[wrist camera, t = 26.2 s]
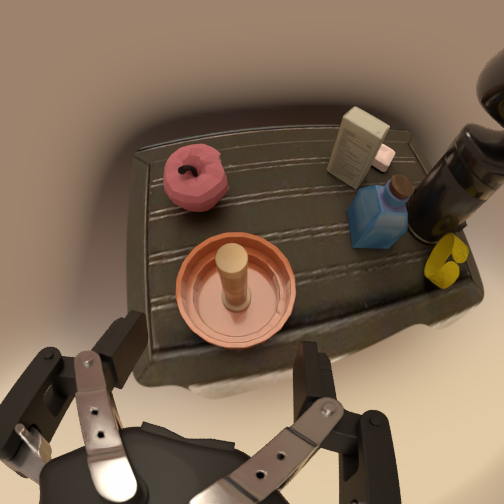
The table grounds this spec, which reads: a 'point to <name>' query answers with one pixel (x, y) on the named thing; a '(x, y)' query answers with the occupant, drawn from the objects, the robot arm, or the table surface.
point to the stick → (233, 276)
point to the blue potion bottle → (380, 214)
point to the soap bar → (383, 158)
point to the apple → (195, 178)
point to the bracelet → (435, 264)
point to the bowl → (258, 281)
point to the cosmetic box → (356, 146)
